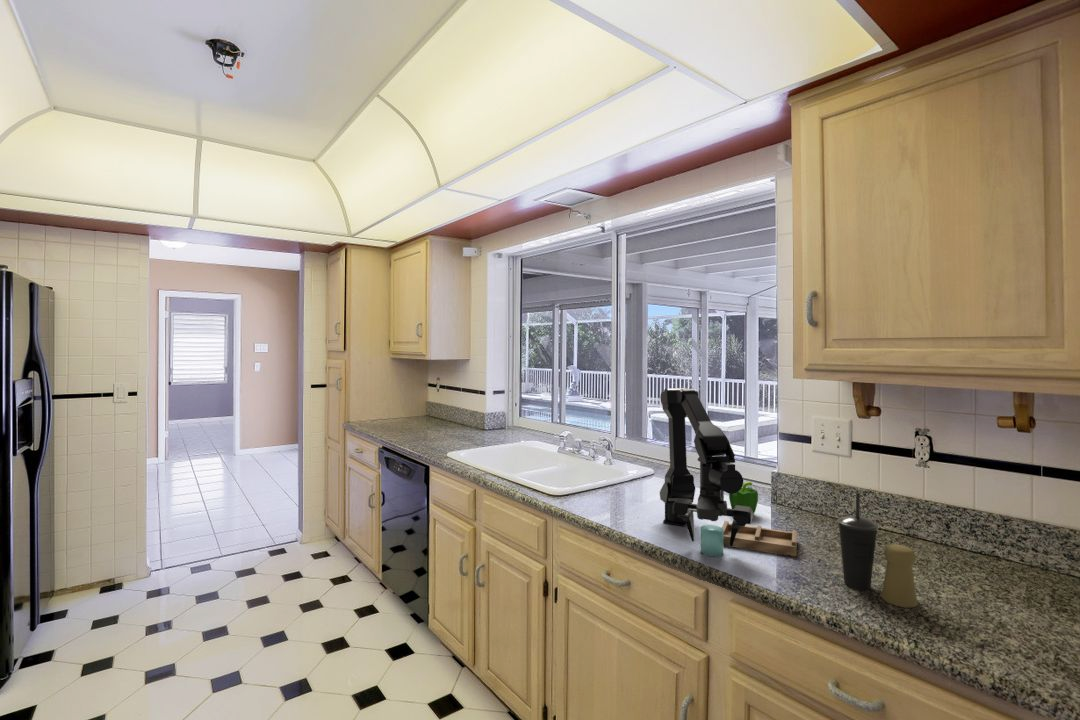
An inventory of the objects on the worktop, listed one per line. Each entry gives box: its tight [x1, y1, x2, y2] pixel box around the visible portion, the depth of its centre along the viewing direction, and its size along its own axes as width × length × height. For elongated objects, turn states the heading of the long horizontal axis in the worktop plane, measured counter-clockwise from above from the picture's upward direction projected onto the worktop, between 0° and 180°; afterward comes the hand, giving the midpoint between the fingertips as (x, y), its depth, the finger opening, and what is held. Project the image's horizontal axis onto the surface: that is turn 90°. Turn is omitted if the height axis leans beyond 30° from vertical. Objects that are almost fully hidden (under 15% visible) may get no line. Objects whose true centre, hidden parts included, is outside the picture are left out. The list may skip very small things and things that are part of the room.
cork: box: [881, 543, 918, 609], centre depth 105 cm, size 6×6×11 cm
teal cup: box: [700, 524, 724, 557], centre depth 130 cm, size 6×6×6 cm
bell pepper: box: [728, 481, 759, 515], centre depth 160 cm, size 8×8×10 cm
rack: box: [721, 520, 798, 557], centre depth 136 cm, size 18×11×3 cm, turn 63°
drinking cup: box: [837, 492, 880, 591], centre depth 112 cm, size 8×8×20 cm
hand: (711, 544), depth 131 cm, fingers open, 9 cm apart
